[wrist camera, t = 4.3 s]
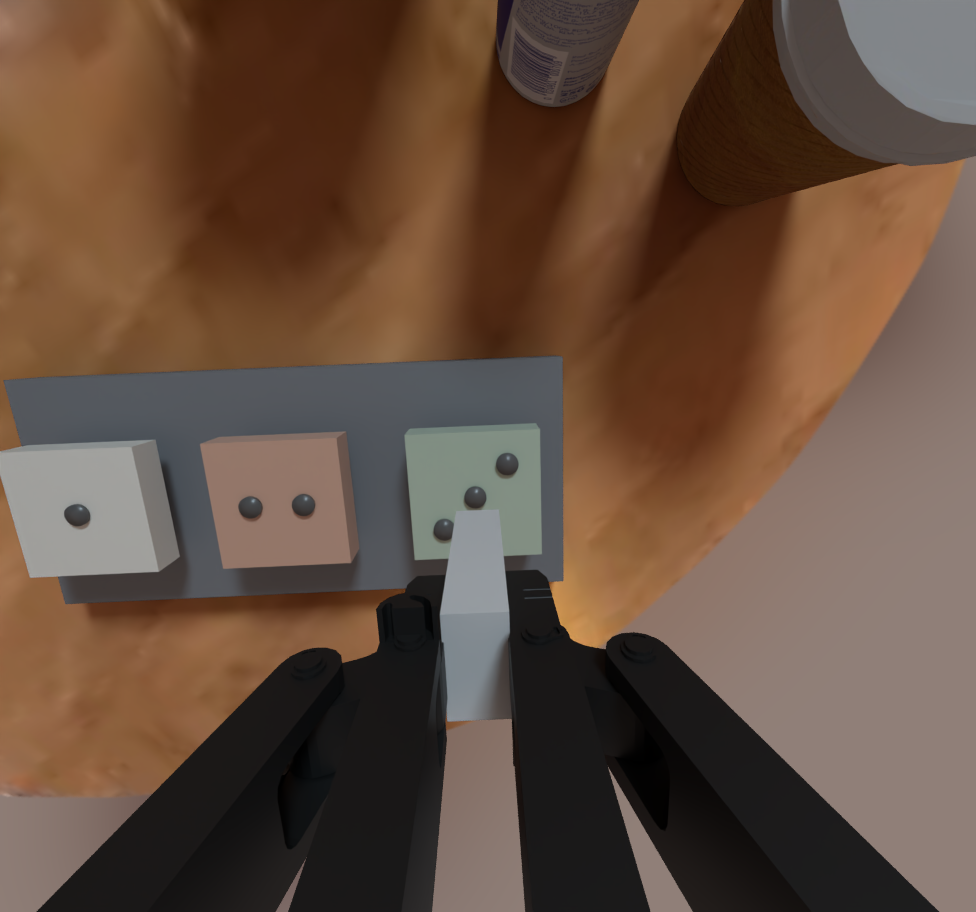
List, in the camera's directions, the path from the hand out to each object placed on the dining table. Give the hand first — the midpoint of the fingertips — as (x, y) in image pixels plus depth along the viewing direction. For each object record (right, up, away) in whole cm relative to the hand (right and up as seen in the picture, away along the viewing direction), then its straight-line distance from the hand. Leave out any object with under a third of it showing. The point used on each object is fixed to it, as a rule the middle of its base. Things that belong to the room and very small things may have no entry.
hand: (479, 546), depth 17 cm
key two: (-9, +2, +8) cm, 12 cm away
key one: (-18, +1, +8) cm, 20 cm away
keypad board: (-9, +2, +10) cm, 14 cm away
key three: (0, +2, +8) cm, 8 cm away
